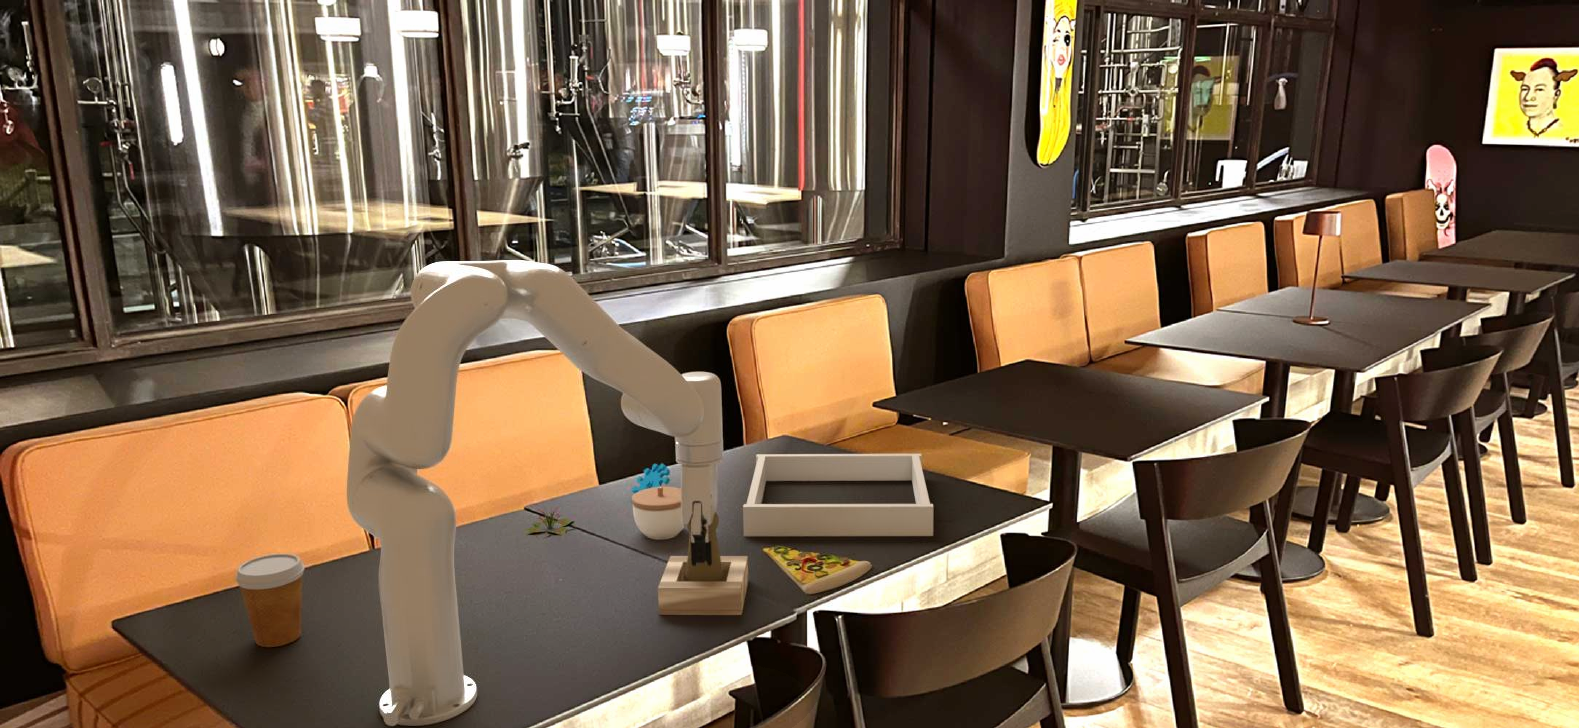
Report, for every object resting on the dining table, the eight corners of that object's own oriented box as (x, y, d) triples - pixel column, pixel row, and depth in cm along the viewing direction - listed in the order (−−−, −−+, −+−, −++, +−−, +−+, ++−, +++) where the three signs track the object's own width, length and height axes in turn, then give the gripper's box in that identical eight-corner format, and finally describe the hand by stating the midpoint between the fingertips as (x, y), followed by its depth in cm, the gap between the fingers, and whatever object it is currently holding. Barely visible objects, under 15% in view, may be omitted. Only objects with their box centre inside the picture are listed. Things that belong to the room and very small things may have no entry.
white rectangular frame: (933, 537, 204) (933, 506, 203) (743, 537, 206) (743, 506, 204) (920, 480, 236) (920, 453, 235) (757, 481, 238) (756, 454, 237)
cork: (681, 581, 177) (678, 516, 174) (691, 566, 182) (688, 503, 180) (717, 583, 176) (715, 518, 173) (727, 568, 181) (724, 505, 179)
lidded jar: (698, 540, 205) (696, 491, 203) (641, 549, 201) (639, 500, 199) (681, 521, 215) (679, 475, 213) (627, 529, 211) (625, 482, 209)
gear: (621, 497, 226) (649, 456, 229) (640, 511, 230) (668, 471, 232) (647, 511, 218) (676, 469, 220) (667, 525, 221) (695, 484, 223)
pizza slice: (815, 601, 179) (815, 584, 179) (731, 567, 194) (731, 551, 193) (878, 574, 190) (878, 557, 189) (795, 543, 204) (794, 527, 204)
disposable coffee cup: (293, 618, 175) (284, 547, 172) (324, 635, 169) (315, 561, 167) (232, 640, 168) (222, 566, 165) (262, 658, 162) (252, 582, 159)
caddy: (741, 615, 173) (740, 588, 172) (659, 614, 174) (657, 588, 173) (748, 581, 186) (747, 556, 185) (671, 581, 187) (670, 556, 186)
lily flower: (536, 547, 204) (534, 524, 203) (507, 530, 213) (505, 508, 212) (593, 531, 211) (592, 509, 210) (563, 516, 220) (561, 494, 219)
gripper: (683, 436, 183) (687, 540, 187) (667, 467, 167) (672, 580, 171) (728, 435, 183) (731, 540, 186) (717, 466, 166) (721, 580, 170)
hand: (703, 558), depth 178 cm, fingers closed on cork, 3 cm apart
